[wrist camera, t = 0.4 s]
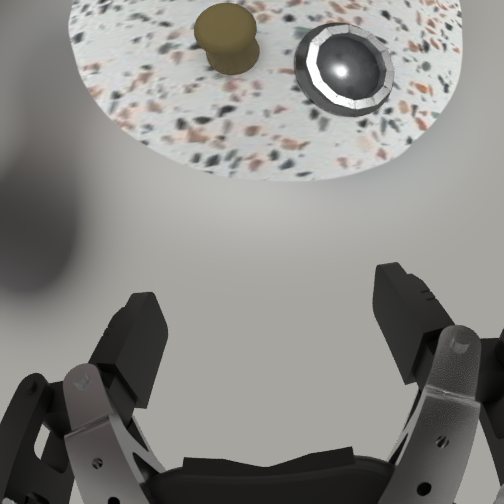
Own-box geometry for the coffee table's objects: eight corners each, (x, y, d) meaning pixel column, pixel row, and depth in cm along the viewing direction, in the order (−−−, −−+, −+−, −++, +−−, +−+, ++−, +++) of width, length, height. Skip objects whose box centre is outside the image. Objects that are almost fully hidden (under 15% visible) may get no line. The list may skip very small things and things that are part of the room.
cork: (203, 74, 28) (181, 56, 18) (209, 28, 25) (190, -6, 16) (256, 77, 28) (258, 58, 18) (261, 31, 26) (265, -5, 16)
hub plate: (304, 13, 24) (308, 5, 22) (396, 45, 25) (407, 41, 23) (285, 101, 30) (288, 100, 27) (379, 128, 31) (390, 130, 28)
